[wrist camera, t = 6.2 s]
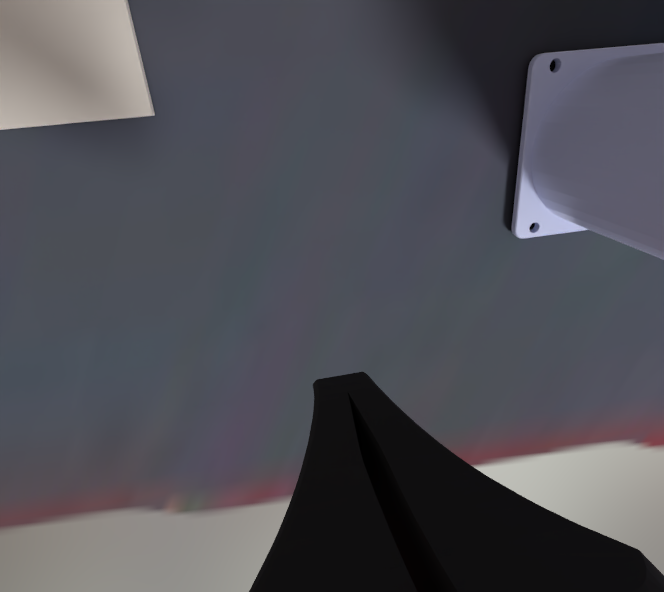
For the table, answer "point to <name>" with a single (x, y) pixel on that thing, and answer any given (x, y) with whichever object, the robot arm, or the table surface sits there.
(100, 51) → the mat
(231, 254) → the table surface
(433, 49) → the table surface
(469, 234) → the table surface
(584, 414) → the table surface
